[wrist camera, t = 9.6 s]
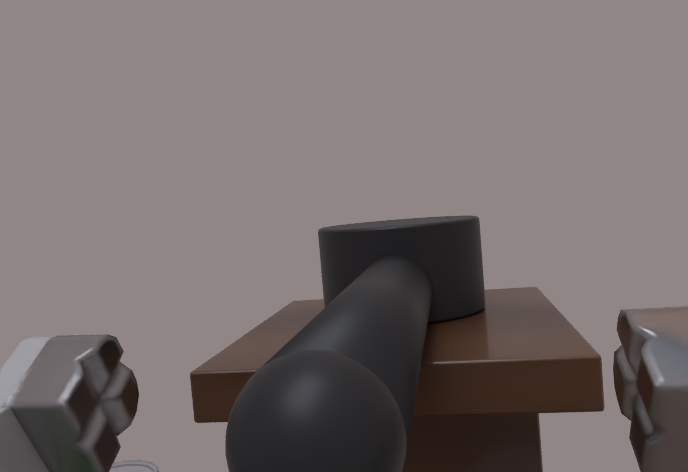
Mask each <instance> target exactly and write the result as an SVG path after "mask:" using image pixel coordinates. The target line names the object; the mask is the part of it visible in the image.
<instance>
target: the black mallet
mask: <svg viewBox="0 0 688 472" xmlns="http://www.w3.org/2000/svg"><path fill="white" fill-rule="evenodd" d="M318 236H319V247H320V259H321V271H322V283H323V294H324V306H325V308H324V309H323V310H322V311H321V312H320V313H319V314H318V315H317V316H315V317H314V318H313V319H312V320H311V321H310V322H309V323H308V324H307V325H306V326H305V327H304V328H303V329H302V330H300V331H299V332H298V333H297V334H296V335H295V336H294V337H293V338H292V339H291V340H290V341H289V342H288V343H286V344H285V345H284V346H283V347H282V348H281V349H280V350H279V351H278V352H277V353H276V354H275V355H274V356H273V357H271V358H270V359H269V360H268V361H267V362H266V363H265V364H264V365H263V366H262V367H261V368H260V369H259V370H258V371H257V372H256V373H255V374H254V375H253V376H252V377H251V378H250V379H249V380H248V381H247V383H246V384H245V386H244V387H243V389H242V390H241V392H240V393H239V395H238V396H237V398H236V400H235V402H234V405H233V407H232V410H231V412H230V415H229V420H228V425H227V430H226V458H227V464H228V468H229V472H402V471H403V467H404V464H405V460H406V454H407V447H408V441H409V435H410V429H411V423H412V417H413V410H414V404H415V398H416V392H417V386H418V379H419V373H420V367H421V361H422V355H423V348H424V342H425V336H426V330H427V324H431V323H438V322H444V321H450V320H455V319H459V318H463V317H467V316H470V315H473V314H475V313H477V312H480V311H481V310H483V309H484V307H485V293H484V279H483V266H482V252H481V238H480V224H479V218H478V217H476V216H445V217H428V218H413V219H401V220H400V219H399V220H387V221H377V222H365V223H356V224H347V225H338V226H331V227H325V228H321V229H319V231H318Z"/></svg>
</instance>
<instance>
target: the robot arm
mask: <svg viewBox="0 0 688 472" xmlns="http://www.w3.org/2000/svg"><path fill="white" fill-rule="evenodd" d="M617 332H618V335H619V338H620V341H621V343H622V345H621V346H620V347H619V348H618V349H617V350H616V351H615V352H614V365H613V372H614V384H615V391H616V395H617V400H618V403H619V407H620V410H621V413H622V414H623V415H624V416H626V417H627V418H628V419H629V420H631V429H630V437H629V438H630V441H631V444H632V447H633V450H634V453H635V456H636V458H637V462H638V465H639V468H640V471H641V472H688V306H683V307H664V308H646V309H628V310H621V311H620V314H619V317H618V323H617ZM122 354H123V349H122V347H121V346H120V344H119V342H118V340H117V338H116V337H114V336H111V335H76V336H75V335H70V336H55V337H29V338H27V339H25V340H23V341H21V342H20V344H19V345H18V346H17V348H16V349H15V350H14V352H13V353H12V355H11V356H10V357H9V359H8V360H7V361H6V363H5V364H4V365H3V367H2V368H1V369H0V472H109V471H110V469H111V467H112V464H113V462H114V460H115V458H116V456H117V454H118V452H119V449H120V444H119V441H118V438H117V436H118V435H119V434H120V433H122V432H123V431H124V430H125V429H127V428H128V427H129V426H130V425H131V423H132V420H133V418H134V416H135V414H136V411H137V404H138V397H139V392H138V386H137V381H136V378H135V376H134V374H133V372H132V370H130V369H129V368H128V367H126V366H125V365H124V364H122V363H121V362H120V359H121V356H122Z"/></svg>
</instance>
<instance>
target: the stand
mask: <svg viewBox="0 0 688 472" xmlns="http://www.w3.org/2000/svg"><path fill="white" fill-rule="evenodd" d="M484 293H485V307H484V309H483V310H481V311H480V312H477V313H475V314H473V315H470V316H467V317H463V318H459V319H455V320H450V321H444V322H438V323H431V324H427V330H426V336H425V342H424V348H423V355H422V361H421V367H420V373H419V379H418V386H417V392H416V398H415V404H414V410H413V417H412V423H411V429H410V435H409V441H408V447H407V454H406V460H405V464H404V467H403V471H402V472H543V471H542V455H541V440H540V426H539V413H558V412H559V413H560V412H595V411H603V410H604V396H603V395H604V394H603V380H602V379H603V378H602V362H601V357H600V355H599V354H598V353H597V352H596V351H595V350H594V349H593V348H592V346H591V345H590V344H589V343H588V342H587V341H586V340H585V339H584V338H583V337H582V336H581V335H580V333H579V332H578V331H577V330H576V329H575V328H574V327H573V326H572V325H571V324H570V323H569V322H568V321H567V320H566V318H564V316H563V315H562V314H561V313H560V312H559V311H558V310H557V309H556V308H555V307H554V305H553V304H552V303H551V302H550V301H549V300H548V299H547V298H546V297H545V296H544V295H543V294H542V292H541V291H540V290H539V289H538V288H536V287H528V288H510V289H495V290H494V289H493V290H484ZM324 308H325V306H324V299H322V300H307V301H306V300H305V301H293V302H291V303H290V304H288V305H287V306H285V307H284V308H283V309H281V310H280V311H278V312H277V313H276V314H274V315H273V316H271V317H270V318H268V319H267V320H265V321H264V322H263V323H261V324H260V325H258V326H257V327H255V328H254V329H252V330H251V331H250V332H249V333H247V334H245V335H244V336H242V337H241V338H240V339H238V340H237V341H235V342H234V343H232V344H231V345H230V346H228V347H227V348H225V349H224V350H222V351H221V352H220V353H218V354H217V355H215V356H214V357H212V358H211V359H209V360H208V361H207V362H205V363H204V364H202V365H201V366H199V367H198V368H197V369H195V370H194V371H192V372H191V374H190V379H191V389H192V399H193V410H194V420H195V422H197V423H207V422H228V420H229V415H230V412H231V410H232V407H233V405H234V402H235V400H236V398H237V396H238V395H239V393H240V392H241V390H242V389H243V387H244V386H245V384H246V383H247V381H248V380H249V379H250V378H251V377H252V376H253V375H254V374H255V373H256V372H257V371H258V370H259V369H260V368H261V367H262V366H263V365H264V364H265V363H266V362H267V361H268V360H269V359H270V358H271V357H273V356H274V355H275V354H276V353H277V352H278V351H279V350H280V349H281V348H282V347H283V346H284V345H285V344H286V343H288V342H289V341H290V340H291V339H292V338H293V337H294V336H295V335H296V334H297V333H298V332H299V331H300V330H302V329H303V328H304V327H305V326H306V325H307V324H308V323H309V322H310V321H311V320H312V319H313V318H314V317H315V316H317V315H318V314H319V313H320V312H321V311H322V310H323V309H324Z"/></svg>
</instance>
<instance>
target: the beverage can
mask: <svg viewBox="0 0 688 472" xmlns="http://www.w3.org/2000/svg"><path fill="white" fill-rule="evenodd" d="M109 472H159V471H158V466H156V465H155V464H153V463H152V462H148V461H142V460H133V461H132V460H131V461H121V462H115V463H113V464H112V467H111V469H110V471H109Z"/></svg>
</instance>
